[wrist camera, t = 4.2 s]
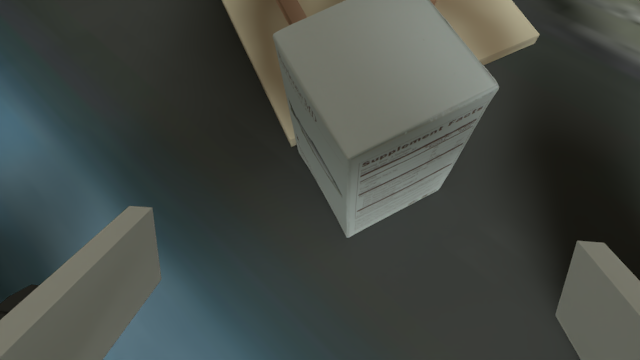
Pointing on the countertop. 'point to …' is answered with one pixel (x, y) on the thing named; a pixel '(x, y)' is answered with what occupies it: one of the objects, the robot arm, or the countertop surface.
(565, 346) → the countertop surface
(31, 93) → the countertop surface
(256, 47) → the collar board
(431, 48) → the supplement box
